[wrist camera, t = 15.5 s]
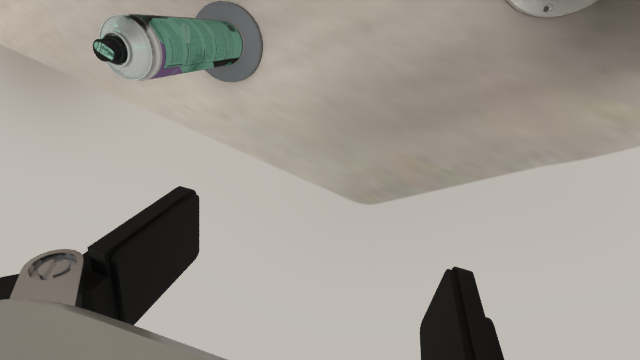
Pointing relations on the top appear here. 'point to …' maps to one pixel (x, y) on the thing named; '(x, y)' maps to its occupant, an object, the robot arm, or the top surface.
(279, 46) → the top surface
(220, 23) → the spray can
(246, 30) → the mat
